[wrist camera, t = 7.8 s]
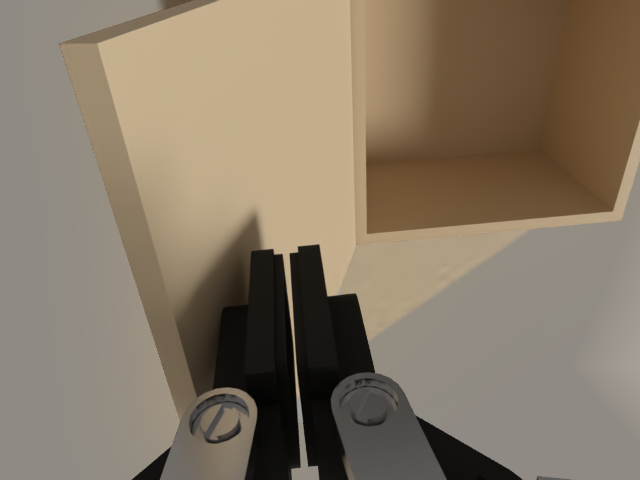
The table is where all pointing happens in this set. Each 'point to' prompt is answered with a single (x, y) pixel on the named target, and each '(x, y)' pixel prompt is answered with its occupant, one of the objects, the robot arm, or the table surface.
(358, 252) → the table surface
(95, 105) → the flap
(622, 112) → the carton
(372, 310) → the table surface
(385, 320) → the table surface
